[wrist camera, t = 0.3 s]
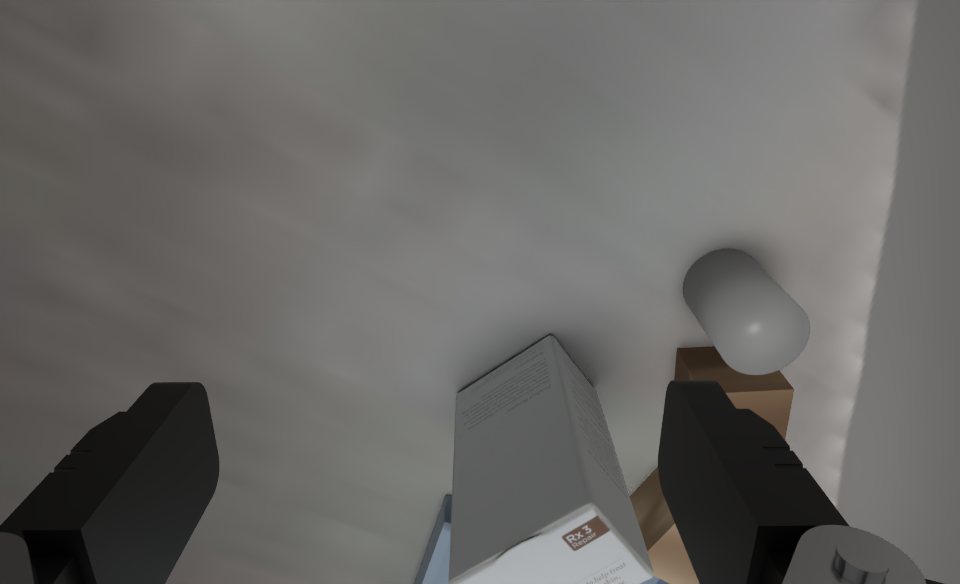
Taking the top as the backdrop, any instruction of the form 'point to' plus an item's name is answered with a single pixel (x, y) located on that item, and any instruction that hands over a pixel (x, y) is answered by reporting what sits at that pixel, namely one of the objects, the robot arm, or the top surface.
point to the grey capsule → (745, 312)
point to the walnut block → (739, 384)
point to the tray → (437, 556)
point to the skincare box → (539, 481)
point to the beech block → (661, 534)
